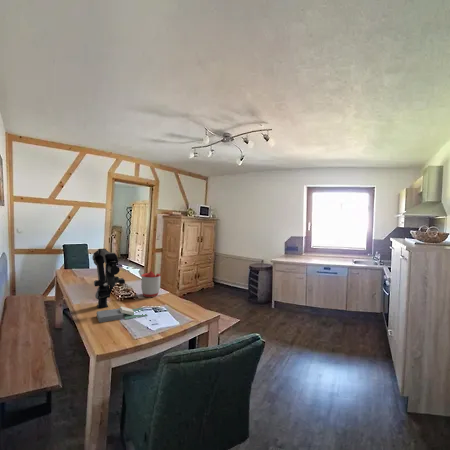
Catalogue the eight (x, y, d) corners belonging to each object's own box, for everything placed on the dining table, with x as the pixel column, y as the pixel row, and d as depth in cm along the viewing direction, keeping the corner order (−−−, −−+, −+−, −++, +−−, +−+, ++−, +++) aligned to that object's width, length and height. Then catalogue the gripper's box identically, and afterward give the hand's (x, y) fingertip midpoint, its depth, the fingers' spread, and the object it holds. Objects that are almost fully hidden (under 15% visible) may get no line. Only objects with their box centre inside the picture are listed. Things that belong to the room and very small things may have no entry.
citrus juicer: (163, 292, 236) (164, 269, 235) (156, 298, 219) (157, 273, 218) (145, 291, 238) (146, 268, 237) (137, 297, 220) (138, 272, 220)
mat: (120, 311, 188) (120, 310, 188) (141, 308, 195) (141, 307, 195) (125, 319, 174) (125, 318, 174) (147, 315, 182) (147, 315, 182)
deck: (96, 316, 178) (96, 311, 178) (119, 312, 185) (119, 308, 185) (99, 322, 168) (99, 317, 168) (123, 318, 175) (123, 314, 175)
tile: (119, 309, 183) (120, 306, 183) (130, 311, 187) (131, 309, 187) (121, 312, 177) (122, 309, 177) (133, 315, 181) (134, 312, 181)
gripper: (96, 275, 173) (95, 299, 173) (127, 273, 183) (126, 296, 183) (94, 271, 182) (93, 295, 183) (123, 269, 192) (122, 291, 193)
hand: (109, 294), depth 185 cm, fingers closed
